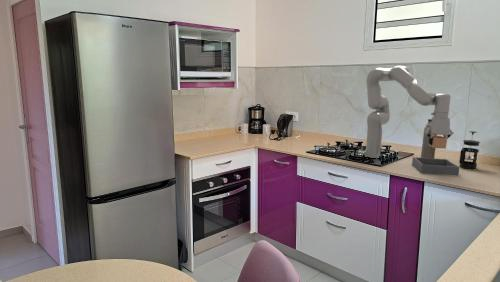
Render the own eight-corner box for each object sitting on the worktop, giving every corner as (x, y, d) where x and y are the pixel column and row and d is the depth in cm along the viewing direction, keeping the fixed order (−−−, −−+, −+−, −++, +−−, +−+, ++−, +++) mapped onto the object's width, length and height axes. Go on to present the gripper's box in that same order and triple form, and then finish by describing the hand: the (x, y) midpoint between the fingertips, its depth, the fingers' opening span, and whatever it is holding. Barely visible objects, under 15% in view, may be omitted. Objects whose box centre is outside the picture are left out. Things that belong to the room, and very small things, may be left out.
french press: (468, 165, 227) (473, 130, 223) (481, 169, 218) (486, 132, 214) (453, 166, 224) (458, 130, 220) (465, 170, 215) (471, 132, 211)
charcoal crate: (421, 173, 205) (422, 164, 204) (411, 164, 225) (412, 157, 224) (458, 175, 202) (459, 167, 201) (445, 167, 221) (446, 159, 220)
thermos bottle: (436, 162, 233) (441, 120, 228) (426, 162, 231) (431, 120, 226) (427, 159, 241) (432, 118, 236) (417, 159, 239) (422, 118, 234)
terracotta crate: (433, 147, 207) (434, 137, 206) (428, 145, 215) (430, 135, 214) (445, 148, 206) (447, 138, 205) (440, 145, 214) (441, 135, 213)
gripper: (427, 115, 205) (423, 145, 208) (459, 116, 202) (455, 147, 205) (423, 113, 212) (420, 143, 216) (454, 115, 209) (450, 144, 213)
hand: (437, 144), depth 210 cm, fingers closed on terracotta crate, 6 cm apart
